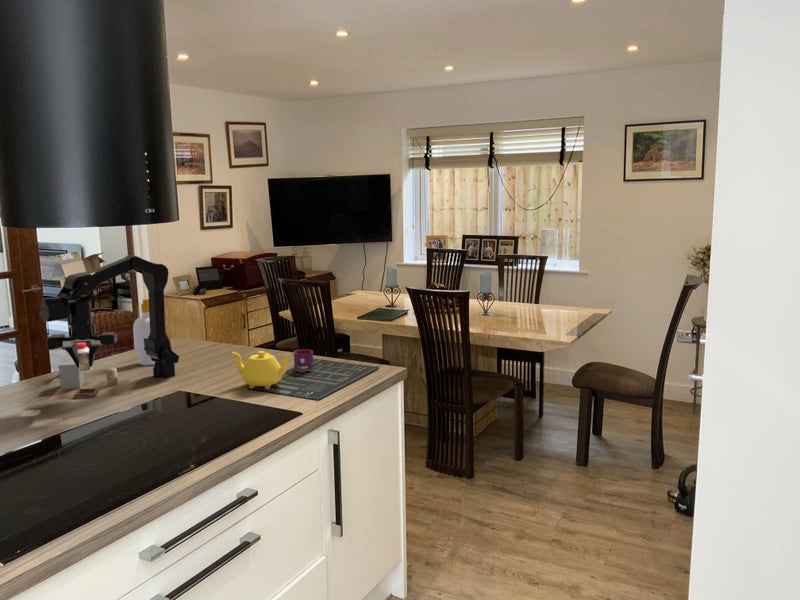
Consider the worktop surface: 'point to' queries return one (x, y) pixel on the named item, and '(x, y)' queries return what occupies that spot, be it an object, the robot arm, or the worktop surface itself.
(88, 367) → the maple peg
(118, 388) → the board
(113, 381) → the peg
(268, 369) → the teapot
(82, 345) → the pill bottle
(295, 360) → the mug
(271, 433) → the worktop surface
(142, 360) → the soap bottle
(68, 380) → the block
